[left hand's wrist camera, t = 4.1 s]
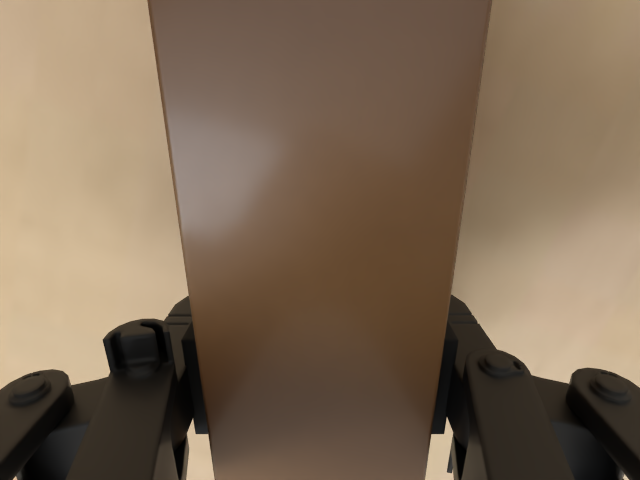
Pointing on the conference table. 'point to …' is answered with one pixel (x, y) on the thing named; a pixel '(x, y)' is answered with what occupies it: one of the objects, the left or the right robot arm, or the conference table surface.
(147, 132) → the conference table surface
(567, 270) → the conference table surface
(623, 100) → the conference table surface
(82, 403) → the left robot arm
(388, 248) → the beam
